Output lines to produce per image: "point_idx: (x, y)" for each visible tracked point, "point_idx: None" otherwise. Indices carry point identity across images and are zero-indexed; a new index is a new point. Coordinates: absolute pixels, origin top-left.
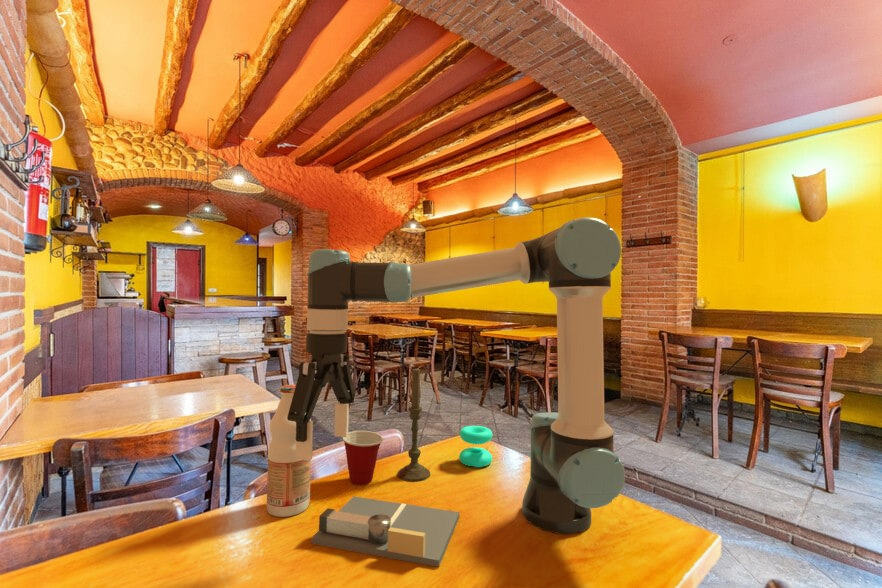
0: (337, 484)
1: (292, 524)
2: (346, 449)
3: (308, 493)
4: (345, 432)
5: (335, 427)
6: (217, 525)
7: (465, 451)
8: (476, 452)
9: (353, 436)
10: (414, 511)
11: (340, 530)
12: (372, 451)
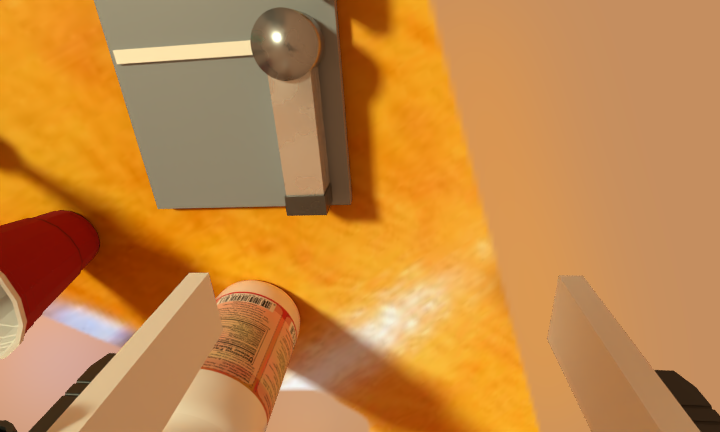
0: (122, 276)
1: (307, 272)
2: (38, 316)
3: (230, 298)
4: (198, 292)
5: (201, 359)
6: (364, 382)
7: None
8: None
9: None
10: (129, 7)
11: (324, 149)
12: None
